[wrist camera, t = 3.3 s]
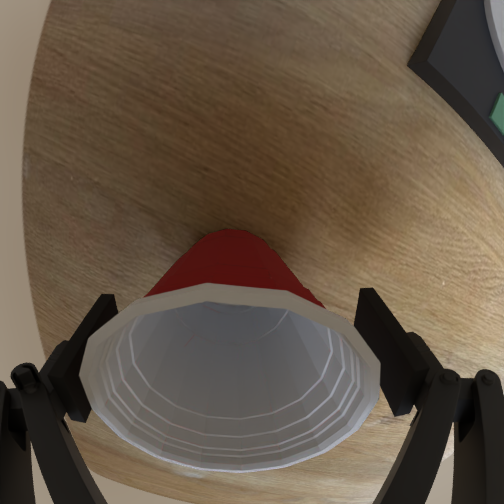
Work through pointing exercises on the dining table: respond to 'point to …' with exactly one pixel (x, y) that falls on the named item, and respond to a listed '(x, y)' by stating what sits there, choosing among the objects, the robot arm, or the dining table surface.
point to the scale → (467, 64)
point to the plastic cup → (230, 364)
